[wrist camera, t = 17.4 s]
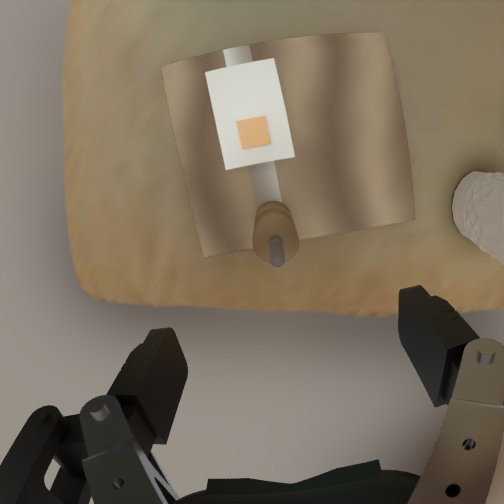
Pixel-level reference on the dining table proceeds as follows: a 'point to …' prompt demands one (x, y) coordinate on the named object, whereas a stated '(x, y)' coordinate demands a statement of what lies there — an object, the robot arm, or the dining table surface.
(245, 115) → the white block
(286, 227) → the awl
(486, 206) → the white cup
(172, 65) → the board
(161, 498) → the robot arm
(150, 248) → the dining table surface
